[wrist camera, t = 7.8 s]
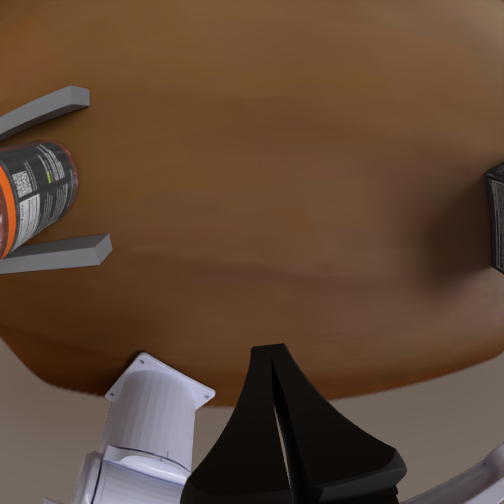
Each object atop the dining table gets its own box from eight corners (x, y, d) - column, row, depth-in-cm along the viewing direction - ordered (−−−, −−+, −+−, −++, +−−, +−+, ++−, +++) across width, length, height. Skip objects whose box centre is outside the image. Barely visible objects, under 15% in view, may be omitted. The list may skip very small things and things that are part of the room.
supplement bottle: (12, 186, 16) (-93, 239, 6) (45, 122, 15) (-79, 140, 4) (58, 234, 18) (-39, 318, 8) (97, 172, 17) (-24, 228, 6)
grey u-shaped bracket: (89, 89, 14) (71, 85, 12) (112, 249, 19) (99, 264, 17) (-15, 134, 14) (-34, 137, 12) (10, 261, 19) (-5, 274, 16)
